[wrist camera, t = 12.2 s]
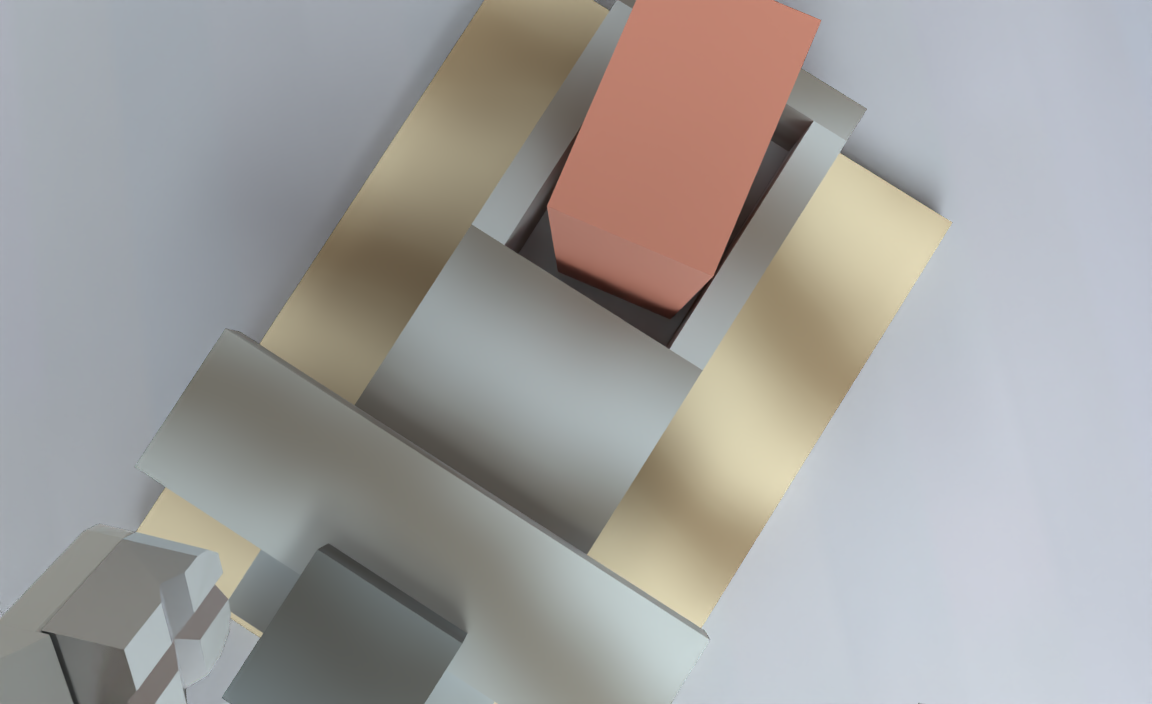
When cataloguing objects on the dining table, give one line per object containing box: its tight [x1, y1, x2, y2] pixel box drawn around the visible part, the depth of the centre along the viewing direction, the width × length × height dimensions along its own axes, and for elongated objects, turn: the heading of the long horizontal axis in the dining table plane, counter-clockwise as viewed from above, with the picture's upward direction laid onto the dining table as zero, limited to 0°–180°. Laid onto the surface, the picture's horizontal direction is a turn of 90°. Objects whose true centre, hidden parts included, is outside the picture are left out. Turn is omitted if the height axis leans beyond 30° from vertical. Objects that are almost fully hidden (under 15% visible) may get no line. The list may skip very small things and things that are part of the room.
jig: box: [135, 0, 952, 704], centre depth 27 cm, size 22×16×8 cm
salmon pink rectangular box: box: [547, 0, 821, 319], centre depth 23 cm, size 6×4×9 cm, turn 157°
